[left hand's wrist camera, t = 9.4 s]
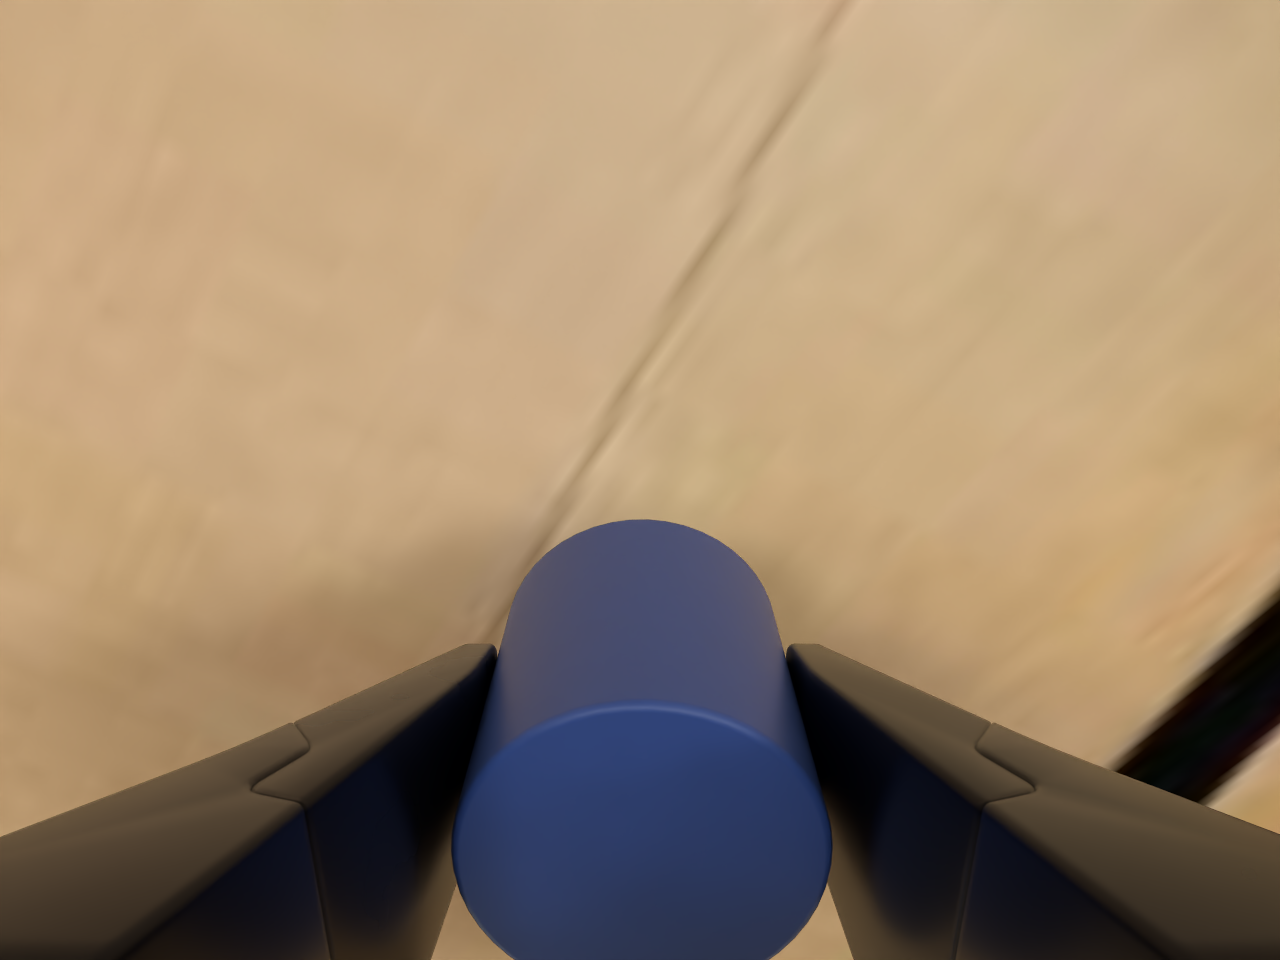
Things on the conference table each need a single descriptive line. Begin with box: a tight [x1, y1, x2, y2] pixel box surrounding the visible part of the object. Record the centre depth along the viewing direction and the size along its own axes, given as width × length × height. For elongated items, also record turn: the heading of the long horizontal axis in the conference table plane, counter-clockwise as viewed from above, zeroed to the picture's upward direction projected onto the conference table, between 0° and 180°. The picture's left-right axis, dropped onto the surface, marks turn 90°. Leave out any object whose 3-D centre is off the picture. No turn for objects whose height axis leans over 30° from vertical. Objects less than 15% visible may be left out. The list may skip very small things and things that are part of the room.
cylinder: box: [451, 520, 833, 960], centre depth 11 cm, size 4×4×4 cm
